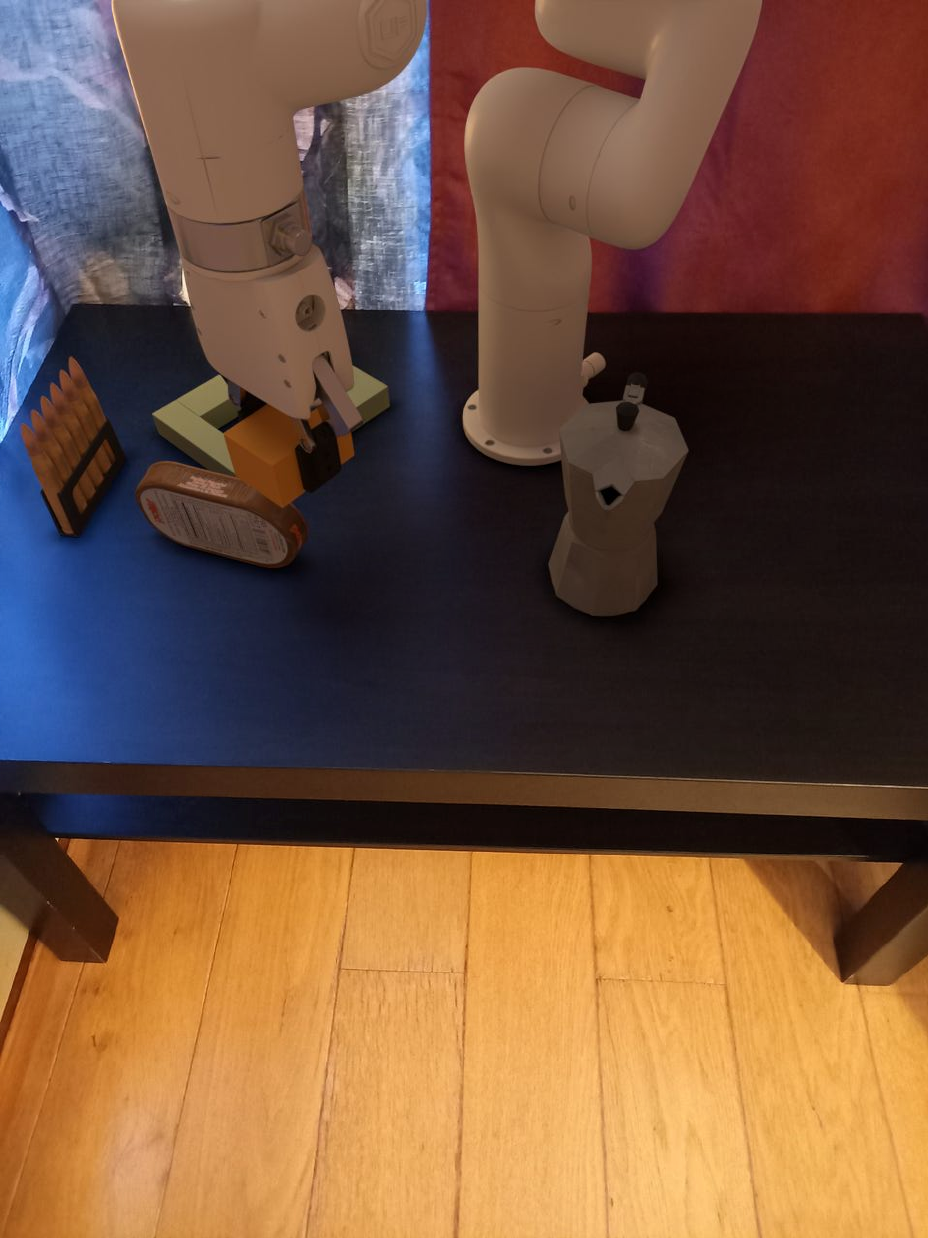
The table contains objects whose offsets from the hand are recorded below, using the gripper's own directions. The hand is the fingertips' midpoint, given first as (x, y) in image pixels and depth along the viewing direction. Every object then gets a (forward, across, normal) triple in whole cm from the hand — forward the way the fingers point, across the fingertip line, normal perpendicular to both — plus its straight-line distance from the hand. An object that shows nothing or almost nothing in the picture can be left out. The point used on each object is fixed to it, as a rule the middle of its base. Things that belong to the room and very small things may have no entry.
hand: (294, 460), depth 67 cm
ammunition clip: (+15, +25, +5) cm, 30 cm away
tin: (+15, +10, +2) cm, 18 cm away
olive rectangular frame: (+15, +20, -13) cm, 28 cm away
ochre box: (0, 0, 0) cm, 0 cm away
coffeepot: (+16, -16, -18) cm, 28 cm away
